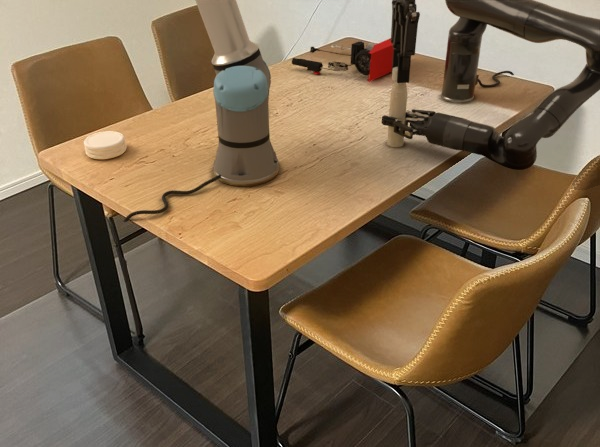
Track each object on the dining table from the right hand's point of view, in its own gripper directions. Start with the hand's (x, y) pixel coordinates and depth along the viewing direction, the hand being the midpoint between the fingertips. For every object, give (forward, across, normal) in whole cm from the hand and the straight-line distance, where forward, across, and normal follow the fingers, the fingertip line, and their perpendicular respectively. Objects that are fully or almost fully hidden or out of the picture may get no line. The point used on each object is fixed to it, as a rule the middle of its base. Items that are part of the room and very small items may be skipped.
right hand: (387, 116), depth 155 cm
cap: (-3, 0, +12) cm, 13 cm away
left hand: (-3, 0, +10) cm, 11 cm away
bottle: (-3, 0, -7) cm, 7 cm away
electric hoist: (+39, +45, -7) cm, 60 cm away
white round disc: (+55, -45, -7) cm, 71 cm away
